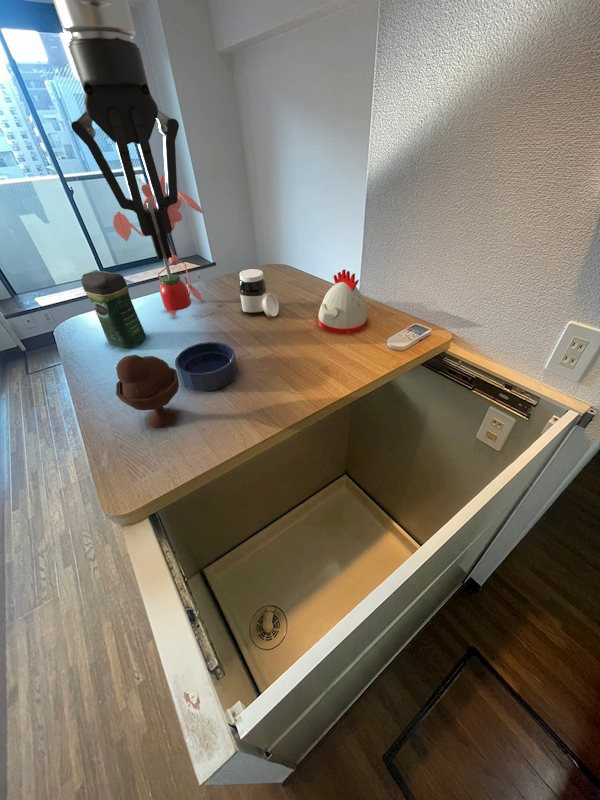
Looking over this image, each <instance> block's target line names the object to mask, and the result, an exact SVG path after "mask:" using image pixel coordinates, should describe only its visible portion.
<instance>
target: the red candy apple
mask: <svg viewBox="0 0 600 800" xmlns="http://www.w3.org/2000/svg"><path fill="white" fill-rule="evenodd" d="M146 203H147V207H148V210H149V211H150V213H151V216H152V219H153V223H154V226H155V230H156V233H157V237H158V240H159V244H160V247H161V251H162V254H163V258H164V259H162V260H163V263H164V268H165V267H166V269H165V272H166V274H167V275H163V276H162V277H160V278H161V281H162V284H161V283H160V286H159V293H160V297H161V299H162V304H163V303H164V305H163V307H164V309H165V308H166V309H167V310H171V311H176V312H177V311H181V310H185V309H188V308H189V307H190V306H191V305H192V300H191V295H190V296H189V289H188V286H187V284H186V283H185V282H183V280H182V279H181V277H180V275H179V274H176V273H175V274H172V272H171V269H170V266H169V260H168V258H167V257H166V254H165V251H164V247H163V243H162V240H161V236H160V231H159V227H158V224H157V220H156V217H155V213H154V209H153V206H152V203H151V202H150V201H146ZM161 281H160V282H161ZM166 309H165V310H166Z"/></svg>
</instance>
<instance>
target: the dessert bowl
mask: <svg viewBox="0 0 600 800" xmlns="http://www.w3.org/2000/svg"><path fill="white" fill-rule="evenodd" d="M174 364H175V365H174V366H175V370H176V371H177V376H178V380H179V383H181V384H182V385H183V387H185V388H187V389H190V390H192V391H197V392H199V391H202V392H208V391H213V390H218V389H220V388H222V387H224V386H227V385H228V384H230V383H231V382H232V381H234V379H236V377H237V374H238V373H239V368H238V361H237V356H236V352H235V349H234V348H232V347H231V345H229V344H227V343H223V342H221V341H220V342H219V341H206V342H199V343H196V344H193V345H191V346H190V345H189V346H188V347H186V348H185V349H182V350H181V351H180V352H179V353H178V354H177V356H176V357H175V359H174Z"/></svg>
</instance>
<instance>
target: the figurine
mask: <svg viewBox="0 0 600 800" xmlns="http://www.w3.org/2000/svg"><path fill="white" fill-rule="evenodd" d="M159 181H160V185H161V188H162V192H163V195H166V184H165V174H163V175H161V176H160V177H159ZM140 189H141V193H142V194H143V196H144V197H145V198H146V199H144V201H143V202H142V203H143V207H144V209H148V207H147V203H146V201H150V202H151V203H152V206H153V208H157V206H156V203H155V200H154V197H153V193H152V190H151V187H150V183H144V184H142V185H141V187H140ZM177 196H178V201H177V203H175V204H172V205H171V206H169V207H168V210H167V211H168V215H169V219H170V223H171V227H172V231H174V229H175V226H176V225H177V223H178V222H180V221H182V220H183V215H182V212H181V211H179V210H180V208H181V206H182V200H181V198H182V199H183V201H185V203H186V204H187V205H188V206H189V207H190V208H192V209H193V210H195V211H197V212H199V213H201V214H204V213H205V212H204V210H203V209H202V208H201V206H200V205H199V204H198V203H197V202H196V201H195V199H193V198H192V197H190V196H189V195H187V194H186V193H183V192H181V191H180V192H179V191H178V189H177ZM112 224H113V228H114V230H115V232H116V234H117V235H118V236H119V237H120V238H122V240H124V241H125V242H128V240H129V238H130V236H131V234H132V229H133V230H134V231H135V232H137V234H139V235H140V236H141V237H145V236H144V235H143V233H142V231H141V230H138V228H136V227H135V225H133V224H132V223H131V222H130V220H129V219H128V218H127V216H126V215H125V214H123V213H121V211H118V210H117V212H116V214H114V216H113V221H112ZM167 240H168V244H169V247H170V251H171V255H172V258H168V265H169V267H170V266H171V265H173V266H177V265H178V264H179V263H181V264H183V265H184V268H185V273H186V276H187V279H188V283H187V284H186V286H187V289H188V292H189V296H190V297H191V295H192V296H193V297H194V298H195V299H197V300H198V301H200V302H203V301H204V299H203V297H202V295H201V293H200V291H199V290H198V289H197V288H196V287H195V286H194V285H193V284H192V283H191V278H190V276H189V275H190V274H189V272H188V269H187V264H186V263H185V262H184V261H182V260H180V259H179V257H178V256H177V255H175V254H174V251H173V249H172V246H171V244H170V242H169V239H168V238H167ZM164 271H166V267H165V266H164V268H163V269H161V271H159V272H158V273H157V276H158V279H159V281H160V285H161V284H162V281H161V278H162V277H161V276H160V275H161V274H162V273H163V272H164ZM162 305H163V306H164V303H163V302H162ZM164 309H165V312H167V313H168V314H170V315H171V316H172V317H173V318H175V317H176V315H177V311H171V310H167V309H166V308H165V307H164ZM217 310H218V308H216V309H215V311H217ZM213 313H214V311H212V312H211V313H209V314H207V315H205V316H201V317H200V318H199V317H198V318H195V319H194V321H196V320H200V319H203V318H206V317H207V316H210V315H212V314H213Z"/></svg>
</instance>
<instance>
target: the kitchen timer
mask: <svg viewBox="0 0 600 800" xmlns="http://www.w3.org/2000/svg"><path fill="white" fill-rule="evenodd" d="M350 273H351V272H350V270H347V271H346V268H344V269H342V271H339V272H337V274H334V275H333V281H334V285H332V287H330V288H329V290H328V291H327V292H326V294H325V295H324V297H323V300H322V302H321V304H320V307H319V310H318V317H317V321H318V322H317V323H318V325H319V327H320V328H321V329H323V330H324V331H326V332H329V333H331V334H336V335H352V334H356V333H359V332H360V331H362V330H364V329H365V327H366V324H367V319H368V317H367V316H368V313H367V308H366V298H365V296H364V295H363V294H362V293H361V291H360V290H359V288H358V287H357V285H358V284H359V281H360V279H357V280H355V279H356V273H355V272H354V273H352V274H350Z"/></svg>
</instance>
